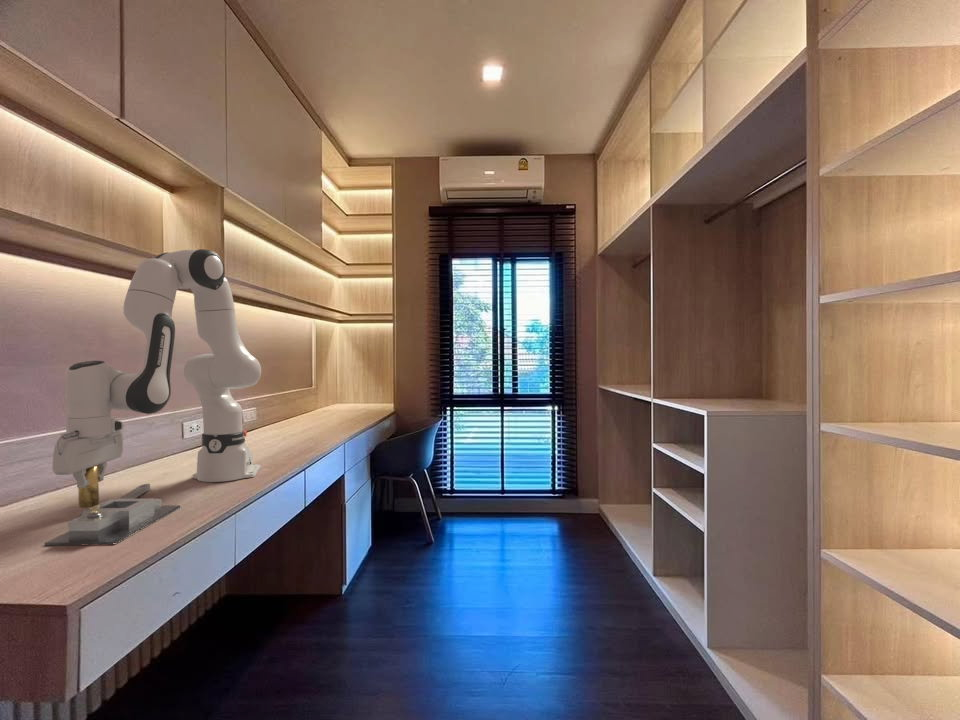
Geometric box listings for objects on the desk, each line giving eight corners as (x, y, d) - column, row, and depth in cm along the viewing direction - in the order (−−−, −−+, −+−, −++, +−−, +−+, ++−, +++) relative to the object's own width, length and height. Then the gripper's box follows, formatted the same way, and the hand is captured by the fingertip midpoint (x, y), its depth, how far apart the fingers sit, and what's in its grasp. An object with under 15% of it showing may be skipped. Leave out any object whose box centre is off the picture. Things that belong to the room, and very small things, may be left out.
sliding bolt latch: (123, 508, 135) (122, 488, 135) (180, 507, 136) (179, 488, 136) (44, 545, 109) (44, 521, 109) (115, 544, 110) (115, 520, 110)
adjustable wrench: (141, 490, 154) (140, 483, 154) (165, 486, 155) (165, 480, 155) (96, 514, 129) (95, 506, 129) (125, 510, 131) (125, 502, 131)
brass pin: (84, 503, 132) (82, 463, 132) (102, 502, 133) (101, 462, 132) (75, 508, 128) (73, 466, 128) (94, 507, 129) (92, 466, 128)
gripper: (72, 435, 120) (74, 496, 120) (127, 421, 140) (129, 474, 140) (42, 435, 119) (44, 496, 120) (102, 422, 140) (104, 474, 140)
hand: (90, 484), depth 130 cm, fingers closed on brass pin, 4 cm apart
